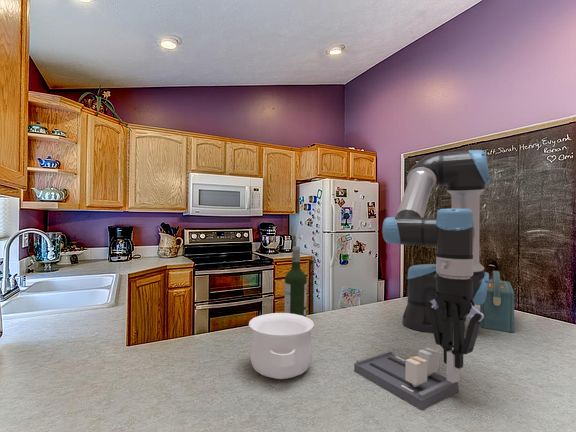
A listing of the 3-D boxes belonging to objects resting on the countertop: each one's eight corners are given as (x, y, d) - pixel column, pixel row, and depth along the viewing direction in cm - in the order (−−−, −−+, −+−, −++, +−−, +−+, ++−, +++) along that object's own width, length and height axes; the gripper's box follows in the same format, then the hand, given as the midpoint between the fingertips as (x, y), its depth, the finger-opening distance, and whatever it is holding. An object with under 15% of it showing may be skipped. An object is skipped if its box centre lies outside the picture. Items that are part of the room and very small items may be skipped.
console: (354, 371, 84) (354, 360, 84) (389, 359, 91) (389, 349, 91) (421, 410, 67) (421, 396, 67) (458, 391, 74) (458, 379, 74)
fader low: (405, 385, 72) (405, 358, 72) (416, 380, 74) (416, 354, 74) (416, 391, 70) (416, 363, 70) (427, 386, 72) (427, 359, 72)
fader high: (417, 374, 77) (418, 349, 77) (427, 370, 80) (428, 346, 80) (428, 379, 75) (429, 354, 75) (438, 375, 77) (438, 350, 77)
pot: (323, 388, 75) (323, 336, 75) (249, 394, 72) (250, 340, 72) (304, 350, 97) (304, 310, 97) (246, 353, 94) (247, 312, 94)
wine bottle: (310, 330, 114) (311, 247, 114) (292, 335, 109) (293, 248, 109) (297, 324, 120) (298, 245, 120) (279, 328, 116) (281, 246, 116)
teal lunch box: (515, 334, 113) (515, 278, 114) (479, 328, 119) (480, 275, 119) (510, 316, 135) (510, 269, 135) (480, 312, 141) (481, 267, 141)
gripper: (418, 273, 76) (417, 372, 76) (475, 282, 65) (474, 398, 65) (436, 270, 80) (436, 364, 80) (493, 279, 69) (492, 388, 69)
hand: (453, 379), depth 72 cm, fingers closed
